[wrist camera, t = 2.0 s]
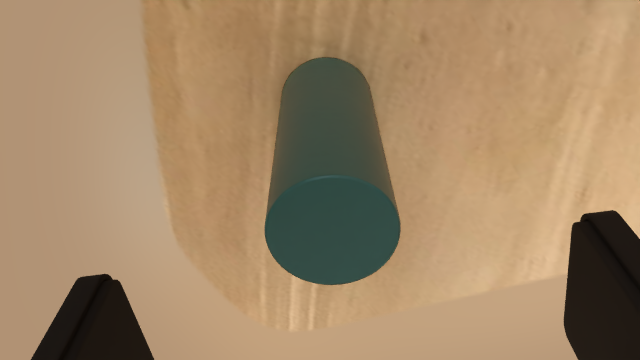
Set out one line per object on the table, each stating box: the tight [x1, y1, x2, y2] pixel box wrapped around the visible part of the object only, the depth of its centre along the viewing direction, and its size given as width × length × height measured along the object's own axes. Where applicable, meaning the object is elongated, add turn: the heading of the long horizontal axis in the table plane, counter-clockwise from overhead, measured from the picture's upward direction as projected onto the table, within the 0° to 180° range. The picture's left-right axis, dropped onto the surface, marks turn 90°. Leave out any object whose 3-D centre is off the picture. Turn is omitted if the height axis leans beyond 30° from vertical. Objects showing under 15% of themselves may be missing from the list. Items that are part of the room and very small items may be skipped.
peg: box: [265, 58, 401, 285], centre depth 17 cm, size 3×3×8 cm
